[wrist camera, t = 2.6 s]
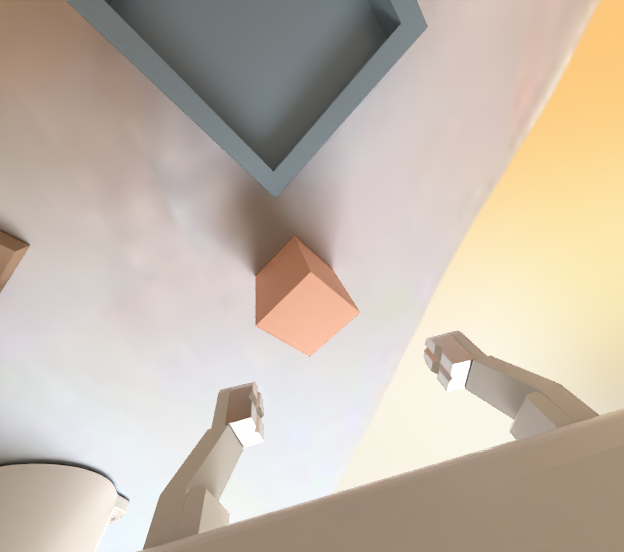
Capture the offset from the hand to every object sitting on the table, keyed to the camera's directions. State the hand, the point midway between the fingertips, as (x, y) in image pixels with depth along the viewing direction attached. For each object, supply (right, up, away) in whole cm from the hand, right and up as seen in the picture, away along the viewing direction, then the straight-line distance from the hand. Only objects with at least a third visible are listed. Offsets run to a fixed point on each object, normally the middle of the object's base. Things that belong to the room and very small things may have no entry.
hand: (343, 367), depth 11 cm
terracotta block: (-3, +5, +8) cm, 10 cm away
